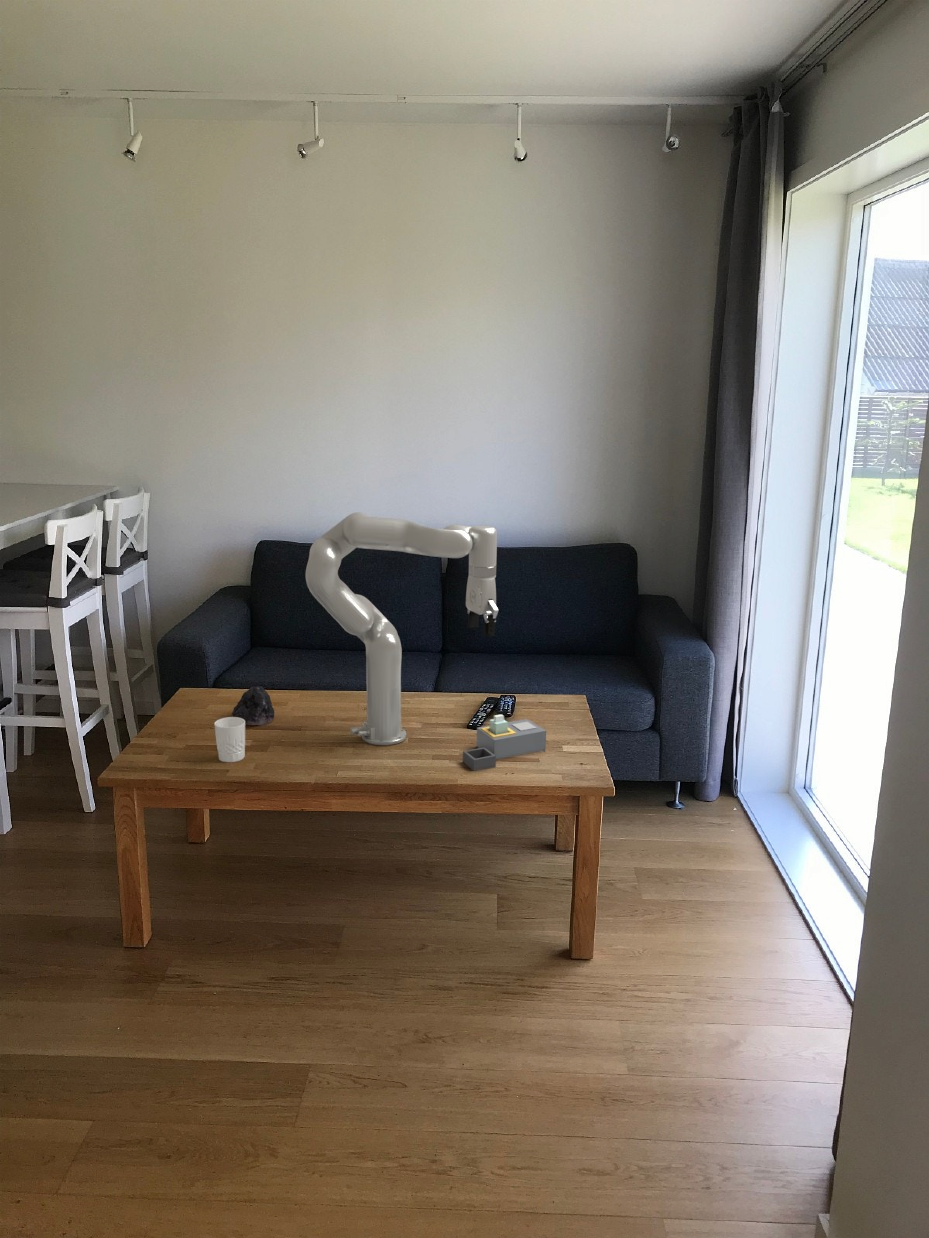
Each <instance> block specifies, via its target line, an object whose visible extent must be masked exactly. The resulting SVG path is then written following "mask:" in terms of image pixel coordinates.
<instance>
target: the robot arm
mask: <svg viewBox="0 0 929 1238" xmlns="http://www.w3.org/2000/svg"><path fill="white" fill-rule="evenodd" d="M497 547H498V531H497V529H496V528H495V527H493V526H491V525H490V526H489V525H475V526H469V525H462V524H461V525H460V524H449V525H447V526H445V527H444V528H435V527H428V526H424V525H421V524H418V523H416V522H413V521H411V520H407V519H400V518H387V517H377V516H376V517H374V516H369V515H367V514H365V513H363V512H359V511H358V512H353V513H351V514H349V515H347V516H346V517H344V518H343V519H342V520H340V521H339V522H338V523H336V524H335V525H334V526H333V527H331V528H330V529H329V530H328V531H326V532H325V533H324V534H322V535H321V536H320V537H318V538H317V539H316V540H315V541H314V542H313V543H312V545H311V546H310V549H309V555H308V561H307V564H306V567H305V568H306V569H305V582H306V586H307V588H308V589H309V592H310V594H311V595H312V596H313V597H314V599H316V601H317V602H318V603H319V604H320V605H321V606H322V607H323V608H324V609H325V610H326V612H327V613H328V614H330V616H331V617H332V618H333V619H334V620H335V621H336V622H337V623H338V624H339V625H340V626H341V628H342V629H344V631H345V632H347V633H348V634H350V635H353V636H356V637H357V638H358V639H360V641H361V642H363V644H364V645H365V656H366V658H365V659H366V660H365V661H366V662H365V663H366V665H365V667H366V668H365V670H366V671H365V675H366V676H365V677H366V679H365V680H366V720H365V721H363V724H361V725H360V726H355V727H354V726H353V727H350V734H351V735H352V736H353V735H354V736H355V735H358V737H361V739H362V740H363V741H364V742H366V743H367V744H369V745H375V746H391V745H396V744H399V743H402V742H404V741H405V740H406V739H407V735H408V734H407V731H406V730H405V729H403V728H402V684H401V683H402V678H401V677H402V656H403V655H402V651H403V649H402V644H401V639H400V636H399V635H398V631H397V629H396V628H395V626H394V625H393V624H392V623H391V622H390V620H388V619H387V617H386V616H385V615H383V613H382V612H381V611H380V610H379V609H378V608H377V607H376V606H375V605H374V604H373V603H372V601H370V600H369V599H368V598H367V597H365V596H364V595H362V594H359V593H358V594H357V593H355V592H353V591H352V589H350V587H349V586H348V585H347V584H346V583H345V582H344V581H343V580H341V579H340V576H339V568H340V566H341V563H342V560H343V558H345V557H346V556H348V555H349V554H351V552H353V551H355V549H357V548H358V549H367V550H368V549H369V550H381V551H391V552H392V551H394V552H401V553H402V552H403V553H407V554H414V555H422V556H429V557H436V558H437V557H438V558H447V559H448V558H449V559H460V558H463V557H466V556H468V577H467V584H466V593H465V607H466V608H467V611H466V612H467V613H466V614H467V628H468V629H475V628H479V626H480V625H479V622H480V615H483V619H484V622H483V637H485V638H489V637H495V634H496V622H497V619H498V613H499V608H498V607H497V587H496V577H497V556H498V555H497V554H498V553H497V551H498V548H497Z"/></svg>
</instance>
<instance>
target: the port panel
mask: <svg viewBox="0 0 929 1238" xmlns="http://www.w3.org/2000/svg"><path fill="white" fill-rule="evenodd" d="M507 722H508V733H504V734H498V735H494V734H493V733H491V732H490V731H489V729H490V725H484V726H480V727H476V747H477V749H478V748H483V747H485V748H486V749H487V750H489V751H490V752H491V753H493V754H494V755H496V760H500V759H506V758H510V757H515V756H522V755H525V754H530V753H535V752H542V751H543V752H546V749H547V748H546V745H547V743H546V742H547V741H546V740H547V730H545V729H544V728H542V727H541V726H540V725H538V724H536V723H535V722H534V721H532V720H530V719H528V718H525V719H520V720H513V721H507Z"/></svg>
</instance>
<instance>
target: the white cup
mask: <svg viewBox="0 0 929 1238" xmlns="http://www.w3.org/2000/svg"><path fill="white" fill-rule="evenodd" d="M213 725H214V733H215V741H216V748H217V755H218V760H219V761H221V762H222V763H223V762H224V763H234V762H235V763H236V762H240V761H242V760H244V759H245V756H246V754H245V753H246V751H245V749H246V724H245V720H244V719H242V718H238V717H232V716H228V717H222V718H219V719H217V720H216V721H214V723H213Z"/></svg>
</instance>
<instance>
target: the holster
mask: <svg viewBox="0 0 929 1238" xmlns="http://www.w3.org/2000/svg"><path fill="white" fill-rule="evenodd" d="M462 763H464V765H465V766H467V767H468V768H469V769H471V770H472V771H473V772H475V771H476V772H477V771H482V770H486V769H487V770H488V769H492V768H496V766H497V759H496V755H494V754H493V753H491V752H490V751H489V750H487V749H486V748H485V747H483V748H478V747H477V748H473V749H469V750H468V749H467V750H463V751H462Z"/></svg>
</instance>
